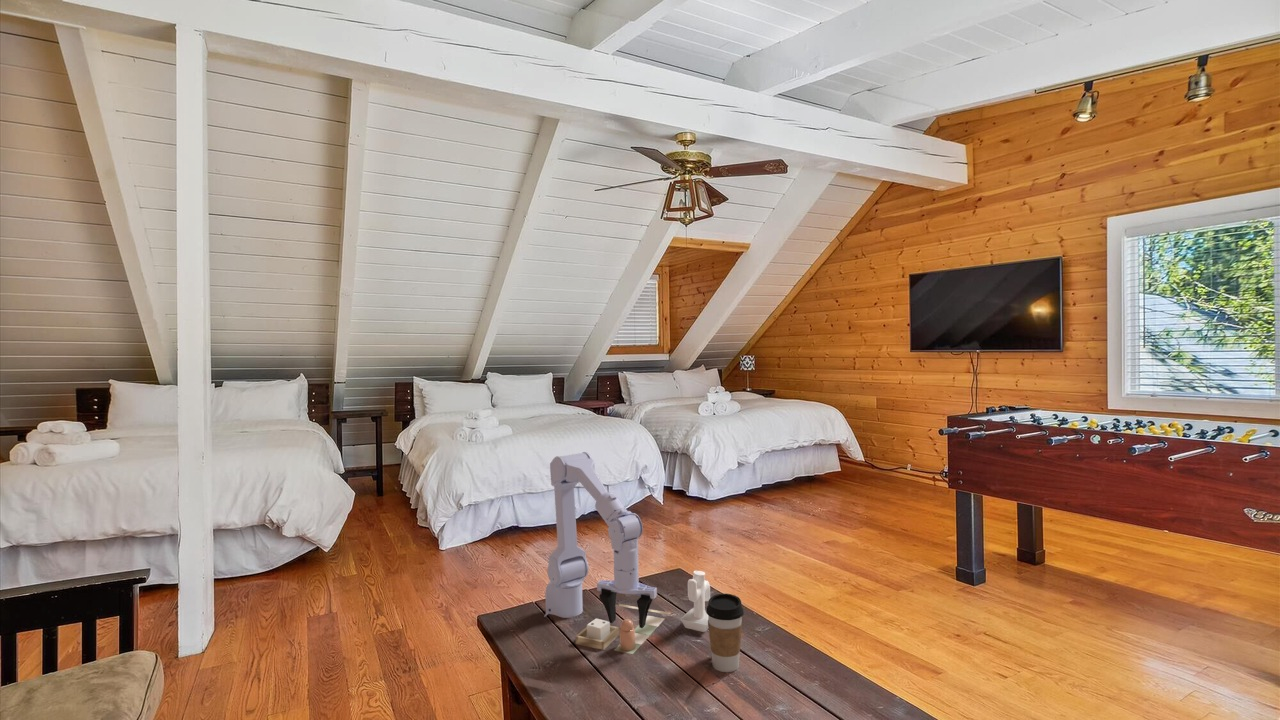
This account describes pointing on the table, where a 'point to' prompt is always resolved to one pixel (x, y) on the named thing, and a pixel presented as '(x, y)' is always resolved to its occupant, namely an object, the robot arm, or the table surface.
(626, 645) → the pawn
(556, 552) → the robot arm
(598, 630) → the die
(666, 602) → the table surface
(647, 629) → the game board
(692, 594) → the figurine
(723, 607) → the coffee cup
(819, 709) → the table surface
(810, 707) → the table surface
